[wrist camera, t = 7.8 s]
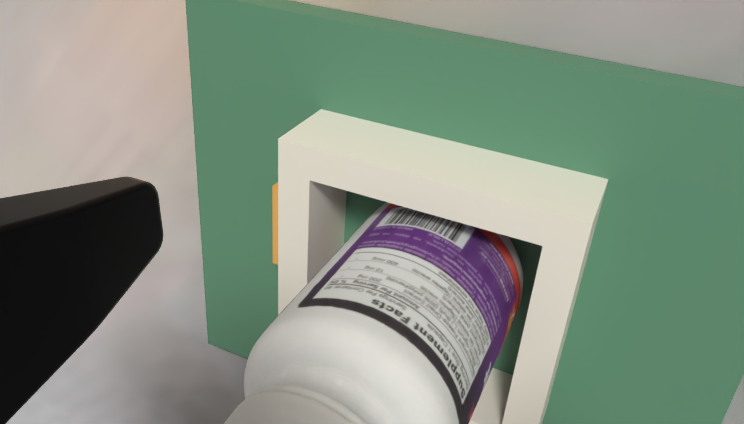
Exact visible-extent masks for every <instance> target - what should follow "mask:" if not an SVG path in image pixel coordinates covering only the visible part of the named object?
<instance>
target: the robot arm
mask: <svg viewBox="0 0 744 424" xmlns="http://www.w3.org/2000/svg"><path fill="white" fill-rule="evenodd" d="M162 241H163V228H162V220H161V213H160V205H159V197H158V192H157V190H156V188H155V187H154V186H153V185H152V184H151V183H149V182H146V181H142V180H139V179H136V178H132V177H120V178H114V179H108V180H103V181H97V182H91V183H86V184H80V185H74V186H69V187H63V188H57V189H51V190H46V191H40V192H34V193H29V194H23V195H17V196H12V197H6V198H0V424H6V423H7V422H8V421H9V420H10V418H11V417H12V416H13V415H14V414H15V413H16V412H17V411H18V410H19V409H20V408H21V407H22V406H23V405H24V404H25V403H26V402H27V401H28V400H29V399H30V398H31V397H32V396H33V395H34V394H35V393H36V392H37V390H38V389H39V388H40V387H41V386H42V385H43V384H44V383H45V382H46V381H47V380H48V379H49V378H50V377H51V376H52V375H53V374H54V373H55V372H56V371H57V370H58V369H59V368H60V367H61V366H62V365H63V364H64V363H65V361H66V360H67V359H68V358H69V357H70V356H71V355H72V354H73V353H74V352H75V351H76V350H77V349H78V348H79V347H80V346H81V345H82V344H83V343H84V342H85V341H86V340H87V338H88V337H89V336H90V335H91V334H92V333H93V332H94V331H95V330H96V329H97V327H98V326H99V325H100V324H101V323H102V321H103V320H104V319H105V318H106V316H107V315H108V314H109V313H110V311H111V310H112V309H113V308H114V306H115V305H116V304H117V303H118V301H119V300H120V299H121V298H122V296H123V295H124V294H125V293H126V291H127V290H128V289H129V288H130V286H131V285H132V284H133V283H134V281H135V280H136V279H137V278H138V276H139V275H140V274H141V272H142V271H143V270H144V269H145V267H146V266H147V265H148V264H149V262H150V261H151V260H152V259H153V257H154V256H155V255H156V254H157V252H158V251H159V249H160V247H161V244H162Z"/></svg>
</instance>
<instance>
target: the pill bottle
mask: <svg viewBox="0 0 744 424" xmlns="http://www.w3.org/2000/svg"><path fill="white" fill-rule="evenodd" d="M522 294H523V270H522V266H521V262H520V259H519V256H518V254H517V251H516V249H515V247H514V245H513V243H512V242H511V240H510V238H509V237H508V236H505V235H502V234H498V233H495V232H491V231H488V230H484V229H480V228H477V227H473V226H470V225H466V224H463V223H459V222H456V221H452V220H449V219H445V218H442V217H438V216H434V215H431V214H427V213H424V212H420V211H417V210H413V209H410V208H406V207H403V206H399V205H396V204H392V203H388V202H387V203H385V204H383V205H382V206H381V207H380V208H378V209H377V210H376V211H375V212H374V213H373V214H372V215H371V216H370V217H369V218H368V219H367V220H366V221H365V222H364V223H363V224H362V225H361V226H360V227H359V228H358V229H357V230H356V232H355V233H354V234H353V235H352V236H351V237H350V238H349V239H348V240H347V241H346V243H345V244H344V245H343V246H342V247H341V248H340V249H339V250H338V251H337V252H336V254H335V255H334V256H333V257H332V258H331V259H330V260H329V261H328V262H327V263H326V264H325V265H324V266H323V268H322V269H321V270H320V271H319V272H318V273H317V274H316V275H315V276H314V277H313V278H312V279H311V281H310V282H309V283H308V284H307V285H306V286H305V287H304V288H303V289H302V290H301V291H300V293H299V294H298V295H297V296H296V297H295V298H294V299H293V300H292V301H291V302H290V303H289V304H288V305H287V306H286V307H285V308H284V310H283V311H282V312H281V313H280V314H279V315H278V316H277V317H276V318H275V320H274V321H273V322H272V323H271V324H270V325H269V326H268V328H267V329H266V330H265V332H264V333H263V334H262V335H261V336H260V338H259V339H258V340H257V342H256V343H255V345H254V346H253V348H252V350H251V352H250V355H249V357H248V361H247V364H246V368H245V372H244V394H245V400H244V401H243V402H241V403H240V404H239V405H238V406H237V407H236V408H235V410H234V411H233V412H232V414H231V415H230V416H229V417H228V419H227V420H226V421H225V423H224V424H469V422H470V419H471V417H472V415H473V412H474V410H475V408H476V406H477V403H478V401H479V398H480V396H481V394H482V391H483V389H484V387H485V385H486V382H487V380H488V377H489V375H490V373H491V370H492V368H493V366H494V364H495V362H496V359H497V357H498V355H499V353H500V350H501V348H502V346H503V344H504V341H505V339H506V337H507V335H508V332H509V330H510V328H511V326H512V324H513V321H514V319H515V317H516V314H517V311H518V309H519V306H520V303H521V299H522Z"/></svg>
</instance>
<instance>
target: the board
mask: <svg viewBox="0 0 744 424" xmlns="http://www.w3.org/2000/svg"><path fill="white" fill-rule="evenodd" d="M186 14H187V29H188V44H189V59H190V74H191V89H192V104H193V119H194V134H195V150H196V165H197V180H198V195H199V210H200V225H201V240H202V255H203V270H204V286H205V301H206V316H207V331H208V343H209V344H211V345H214V346H216V347H219V348H222V349H224V350H227V351H229V352H232V353H234V354H237V355H240V356H242V357H245V358H247V359H248V357H249V355H250V352H251V350H252V348H253V346H254V345H255V343H256V342H257V340H258V339H259V338H260V336H261V335H262V334H263V333H264V332H265V330H266V329H267V328H268V326H269V325H270V324H271V323H272V322H273V321H274V320H275V318H276V317H277V316H278V315H279V314H280V313H281V312H282V311H283V310H284V308H285V307H286V306H287V305H288V304H289V303H290V302H291V301H292V300H293V299H294V298H295V297H296V296H297V295H298V294H299V293H300V291H301V290H302V289H303V288H304V287H305V286H306V285H307V284H308V283H309V282H310V281H311V279H312V278H313V277H314V276H315V275H316V274H317V273H318V272H319V271H320V270H321V269H322V268H323V266H324V265H325V264H326V263H327V262H328V261H329V260H330V259H331V258H332V257H333V256H334V255H335V254H336V252H337V251H338V250H339V249H340V248H341V247H342V246H343V245H344V244H345V243H346V241H347V240H348V239H349V238H350V237H351V236H352V235H353V234H354V233H355V232H356V230H357V229H358V228H359V227H360V226H361V225H362V224H363V223H364V222H365V221H366V220H367V219H368V218H369V217H370V216H371V215H372V214H373V213H374V212H375V211H376V210H377V209H378V208H380V207H381V206H382V205H383V204H385V203H387V202H388V203H392V204H396V205H399V206H403V207H406V208H410V209H413V210H417V211H420V212H424V213H427V214H431V215H434V216H438V217H442V218H445V219H449V220H452V221H456V222H459V223H463V224H466V225H470V226H473V227H477V228H480V229H484V230H488V231H491V232H495V233H498V234H502V235H505V236H508V237H509V238H510V240H511V242H512V243H513V245H514V247H515V249H516V251H517V254H518V256H519V259H520V262H521V266H522V270H523V294H522V299H521V303H520V306H519V309H518V311H517V314H516V317H515V319H514V321H513V324H512V326H511V328H510V330H509V332H508V335H507V337H506V339H505V341H504V344H503V346H502V348H501V350H500V353H499V355H498V357H497V359H496V362H495V364H494V366H493V368H492V370H491V373H490V375H489V377H488V380H487V382H486V385H485V387H484V389H483V391H482V394H481V396H480V398H479V401H478V403H477V406H476V408H475V410H474V412H473V415H472V417H471V419H470V422H469V424H721V423H722V420H723V418H724V416H725V414H726V412H727V409H728V407H729V405H730V403H731V400H732V398H733V396H734V394H735V392H736V389H737V387H738V385H739V383H740V381H741V378H742V376H743V374H744V87H739V86H734V85H728V84H723V83H718V82H713V81H708V80H702V79H697V78H692V77H687V76H681V75H676V74H671V73H666V72H660V71H655V70H650V69H645V68H640V67H634V66H629V65H624V64H619V63H613V62H608V61H603V60H598V59H592V58H587V57H582V56H577V55H571V54H566V53H561V52H556V51H551V50H545V49H540V48H535V47H530V46H524V45H519V44H514V43H509V42H503V41H498V40H493V39H488V38H483V37H477V36H472V35H467V34H462V33H456V32H451V31H446V30H441V29H435V28H430V27H425V26H420V25H414V24H409V23H404V22H399V21H394V20H388V19H383V18H378V17H373V16H367V15H362V14H357V13H352V12H346V11H341V10H336V9H331V8H325V7H320V6H315V5H310V4H305V3H299V2H294V1H289V0H186Z"/></svg>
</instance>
